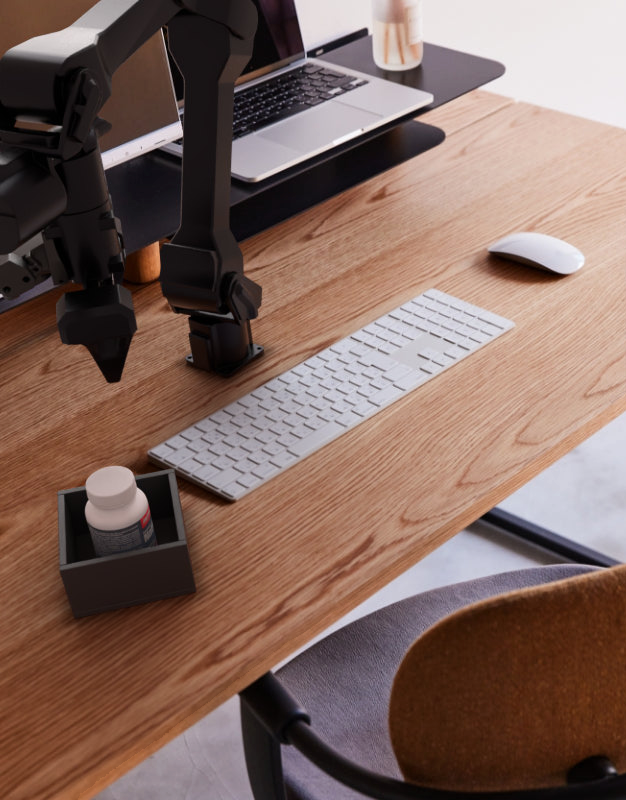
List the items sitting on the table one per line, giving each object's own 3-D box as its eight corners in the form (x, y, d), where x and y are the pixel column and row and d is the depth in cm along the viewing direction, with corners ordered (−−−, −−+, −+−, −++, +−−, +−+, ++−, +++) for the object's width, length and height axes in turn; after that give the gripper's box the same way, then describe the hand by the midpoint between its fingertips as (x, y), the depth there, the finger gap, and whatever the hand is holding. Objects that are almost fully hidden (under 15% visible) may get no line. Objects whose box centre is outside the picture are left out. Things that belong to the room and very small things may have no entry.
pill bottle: (163, 572, 92) (145, 493, 86) (101, 586, 91) (79, 508, 85) (155, 532, 96) (137, 455, 91) (96, 545, 95) (75, 468, 90)
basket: (70, 538, 97) (57, 491, 93) (183, 514, 98) (173, 468, 95) (74, 619, 89) (59, 570, 85) (196, 592, 90) (186, 544, 87)
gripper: (-20, 171, 96) (22, 319, 105) (-29, 267, 81) (21, 430, 90) (106, 153, 98) (136, 300, 107) (119, 243, 83) (153, 405, 92)
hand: (111, 354), depth 99 cm, fingers open, 9 cm apart
